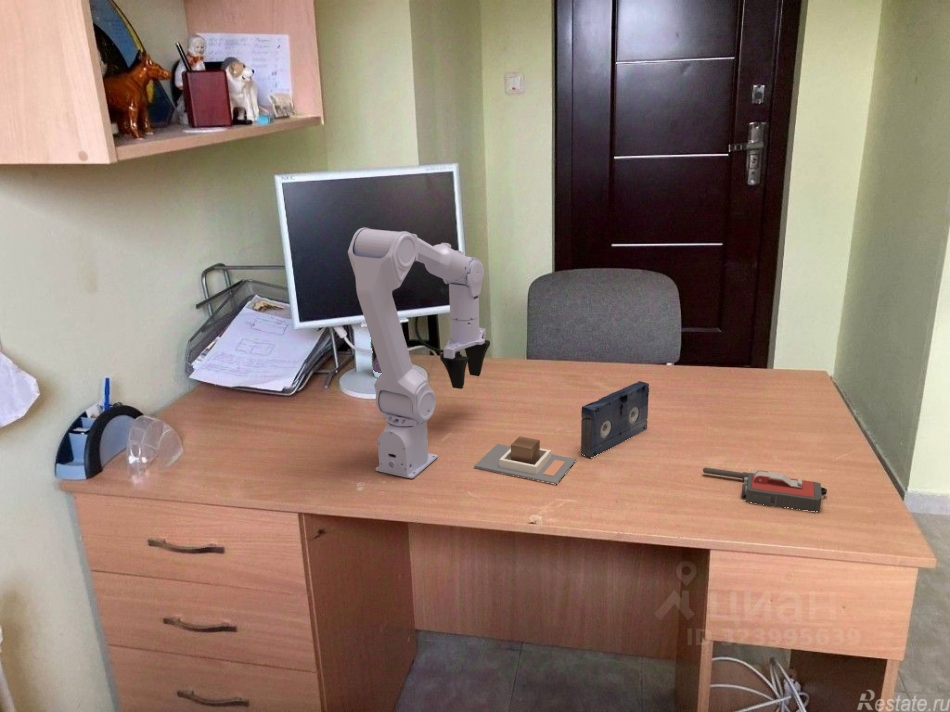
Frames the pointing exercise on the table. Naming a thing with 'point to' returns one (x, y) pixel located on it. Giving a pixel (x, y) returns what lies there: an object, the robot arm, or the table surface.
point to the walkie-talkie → (777, 489)
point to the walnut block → (525, 450)
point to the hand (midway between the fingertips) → (466, 381)
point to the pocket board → (526, 465)
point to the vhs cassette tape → (614, 419)
